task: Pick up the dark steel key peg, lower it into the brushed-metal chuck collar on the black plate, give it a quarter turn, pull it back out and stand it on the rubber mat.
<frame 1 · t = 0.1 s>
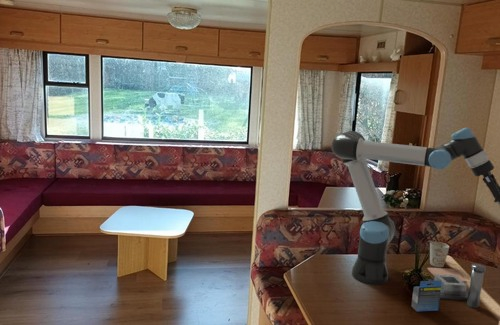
key peg: (472, 305, 158), on the table
label tape cartridge: (424, 309, 154), on the table
rubber mat: (446, 275, 184), on the table
chuck block: (448, 290, 169), on the table
mug: (437, 263, 197), on the table
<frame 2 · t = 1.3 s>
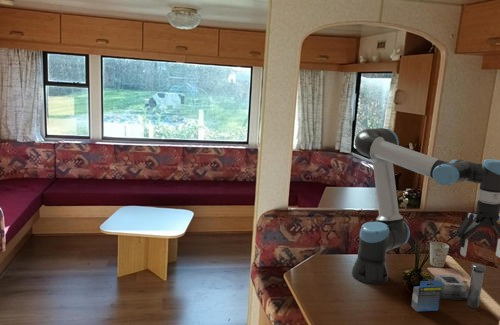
hand: (480, 255, 154), 20 cm above the table, tool pointing down, fingers open, 13 cm apart
nothing on the table moved.
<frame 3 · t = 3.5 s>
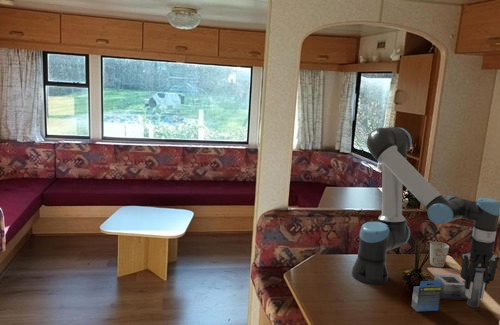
hand: (473, 296, 158), 4 cm above the table, tool pointing down, fingers closed on key peg, 4 cm apart
key peg: (472, 305, 158), on the table, touching gripper
everything else where it was.
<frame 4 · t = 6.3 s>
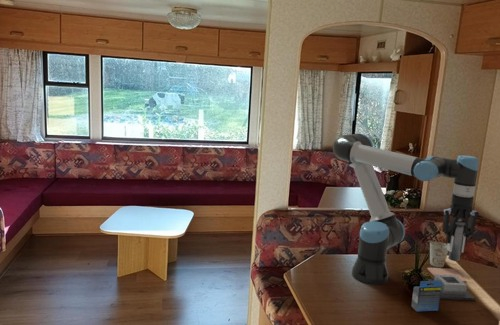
hand: (455, 250, 166), 18 cm above the table, tool pointing down, fingers closed on key peg, 4 cm apart
key peg: (453, 259, 166), point 14 cm above the table, touching gripper
everything else where it was.
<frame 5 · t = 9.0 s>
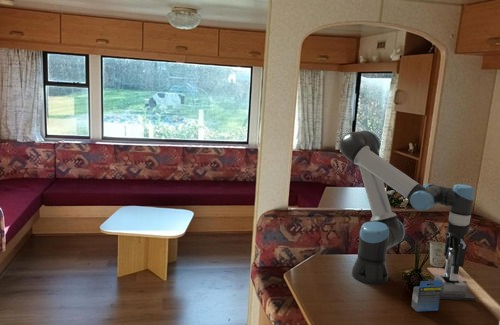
hand: (450, 277, 168), 6 cm above the table, tool pointing down, fingers closed on key peg, 4 cm apart
key peg: (449, 285, 169), point 2 cm above the table, touching gripper
everything else where it was.
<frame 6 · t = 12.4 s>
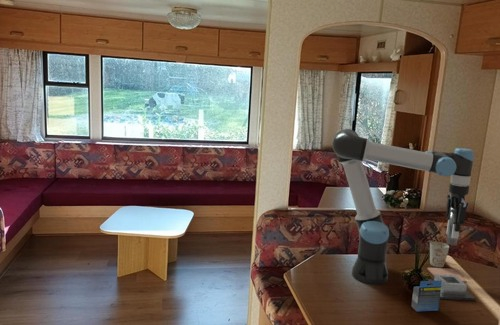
hand: (452, 235, 180), 19 cm above the table, tool pointing down, fingers closed on key peg, 4 cm apart
key peg: (451, 243, 181), point 15 cm above the table, touching gripper
everything else where it was.
when the fingers open (5 cm above the table, at t = 14.9 s): key peg stays where it is, resting on rubber mat.
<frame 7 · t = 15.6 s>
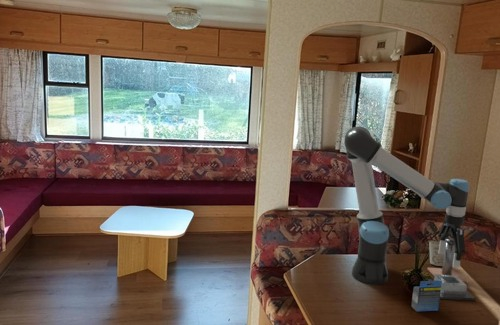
hand: (448, 260, 182), 7 cm above the table, tool pointing down, fingers open, 13 cm apart
key peg: (446, 273, 184), point 1 cm above the table, touching rubber mat
mug: (437, 263, 197), on the table, touching gripper
everything else where it was.
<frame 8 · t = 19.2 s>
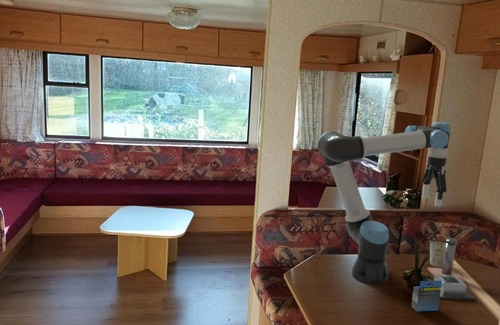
hand: (431, 201, 189), 31 cm above the table, tool pointing down, fingers open, 13 cm apart
mug: (437, 263, 197), on the table
everything else where it was.
at the end: key peg inside the target area on the rubber mat (0.0 cm from its centre), point 0.6 cm above the rubber mat's base; key peg tilted 0°; the gripper is holding nothing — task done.
